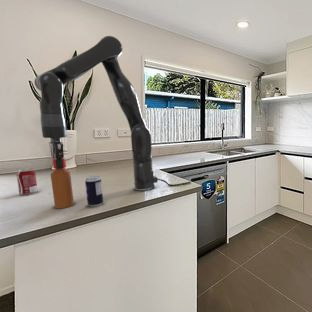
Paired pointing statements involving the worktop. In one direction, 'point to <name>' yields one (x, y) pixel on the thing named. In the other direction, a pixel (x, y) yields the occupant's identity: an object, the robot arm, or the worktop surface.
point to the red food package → (27, 181)
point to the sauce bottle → (62, 188)
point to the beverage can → (94, 190)
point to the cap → (55, 163)
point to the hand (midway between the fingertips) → (58, 167)
